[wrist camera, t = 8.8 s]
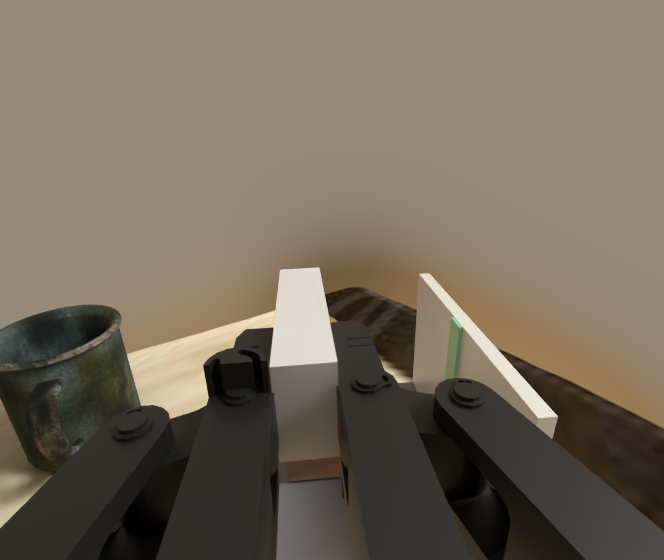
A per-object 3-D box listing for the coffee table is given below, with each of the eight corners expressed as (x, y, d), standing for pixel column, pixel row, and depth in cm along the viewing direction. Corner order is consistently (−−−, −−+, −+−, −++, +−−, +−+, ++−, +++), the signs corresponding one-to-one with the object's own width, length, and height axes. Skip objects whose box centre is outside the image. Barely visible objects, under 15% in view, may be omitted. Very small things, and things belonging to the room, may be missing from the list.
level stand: (513, 595, 24) (557, 416, 18) (262, 623, 23) (230, 443, 18) (420, 392, 42) (429, 273, 37) (279, 403, 41) (266, 282, 36)
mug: (147, 386, 45) (124, 295, 41) (147, 481, 33) (112, 366, 28) (39, 414, 41) (0, 317, 36) (-8, 535, 29) (-77, 411, 24)
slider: (362, 474, 30) (362, 331, 25) (288, 481, 30) (273, 337, 25) (354, 429, 35) (352, 300, 30) (290, 434, 35) (277, 304, 30)
